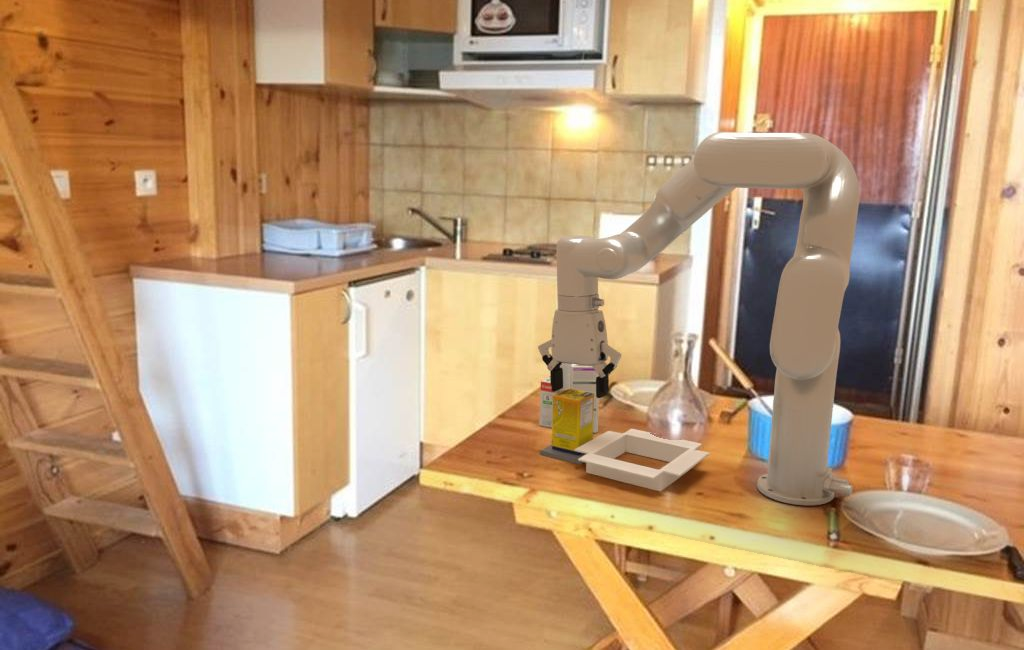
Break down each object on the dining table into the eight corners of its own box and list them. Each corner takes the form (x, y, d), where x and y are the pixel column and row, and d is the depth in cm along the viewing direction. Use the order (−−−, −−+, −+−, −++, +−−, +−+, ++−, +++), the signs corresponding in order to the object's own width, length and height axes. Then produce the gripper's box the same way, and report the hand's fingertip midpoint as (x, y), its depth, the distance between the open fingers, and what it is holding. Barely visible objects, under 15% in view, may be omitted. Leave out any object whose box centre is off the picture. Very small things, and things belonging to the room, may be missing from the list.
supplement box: (566, 441, 168) (567, 387, 165) (593, 447, 164) (595, 392, 162) (550, 449, 163) (552, 394, 160) (578, 456, 160) (580, 400, 157)
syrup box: (598, 433, 175) (600, 364, 172) (569, 433, 175) (571, 364, 172) (596, 424, 180) (598, 357, 177) (568, 424, 180) (570, 357, 178)
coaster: (604, 450, 165) (604, 446, 165) (580, 464, 158) (581, 460, 157) (564, 441, 170) (564, 437, 170) (539, 454, 163) (540, 450, 162)
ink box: (538, 426, 179) (539, 358, 176) (554, 416, 186) (556, 350, 183) (554, 429, 177) (556, 360, 174) (569, 418, 184) (571, 352, 181)
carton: (716, 465, 158) (717, 447, 157) (669, 501, 142) (670, 481, 141) (617, 442, 170) (617, 425, 169) (563, 473, 153) (563, 455, 152)
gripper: (629, 303, 156) (629, 394, 159) (549, 297, 165) (551, 383, 169) (609, 310, 150) (610, 404, 153) (527, 303, 159) (530, 391, 163)
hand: (579, 393), depth 161 cm, fingers open, 9 cm apart
